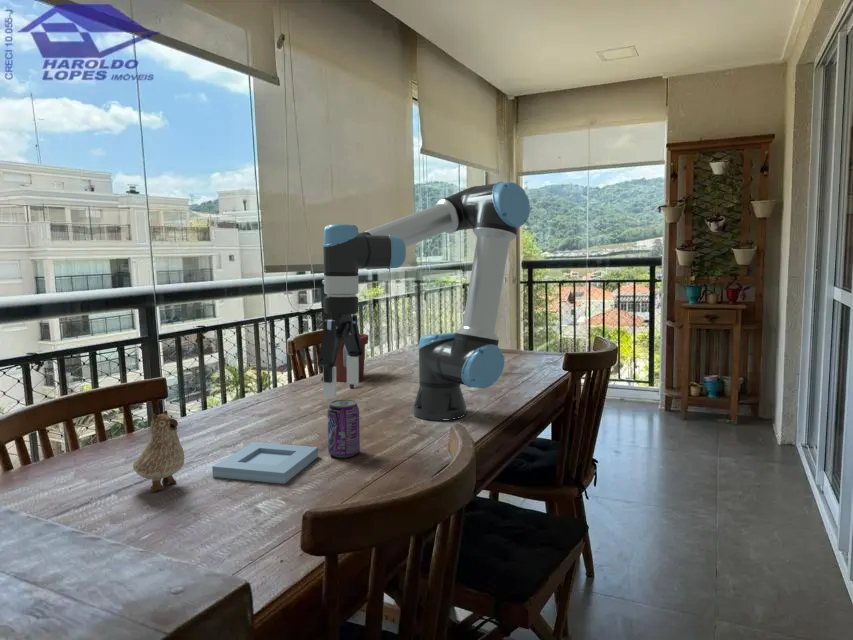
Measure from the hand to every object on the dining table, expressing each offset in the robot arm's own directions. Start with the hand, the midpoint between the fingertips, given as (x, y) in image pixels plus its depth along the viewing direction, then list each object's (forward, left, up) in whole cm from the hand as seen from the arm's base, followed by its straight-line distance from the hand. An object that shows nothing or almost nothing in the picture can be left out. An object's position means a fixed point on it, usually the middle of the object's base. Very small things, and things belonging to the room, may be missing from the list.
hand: (341, 390), depth 129 cm
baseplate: (+13, +11, -15) cm, 22 cm away
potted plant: (+29, -74, -15) cm, 81 cm away
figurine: (+28, +26, -15) cm, 41 cm away
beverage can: (0, 0, -15) cm, 15 cm away
